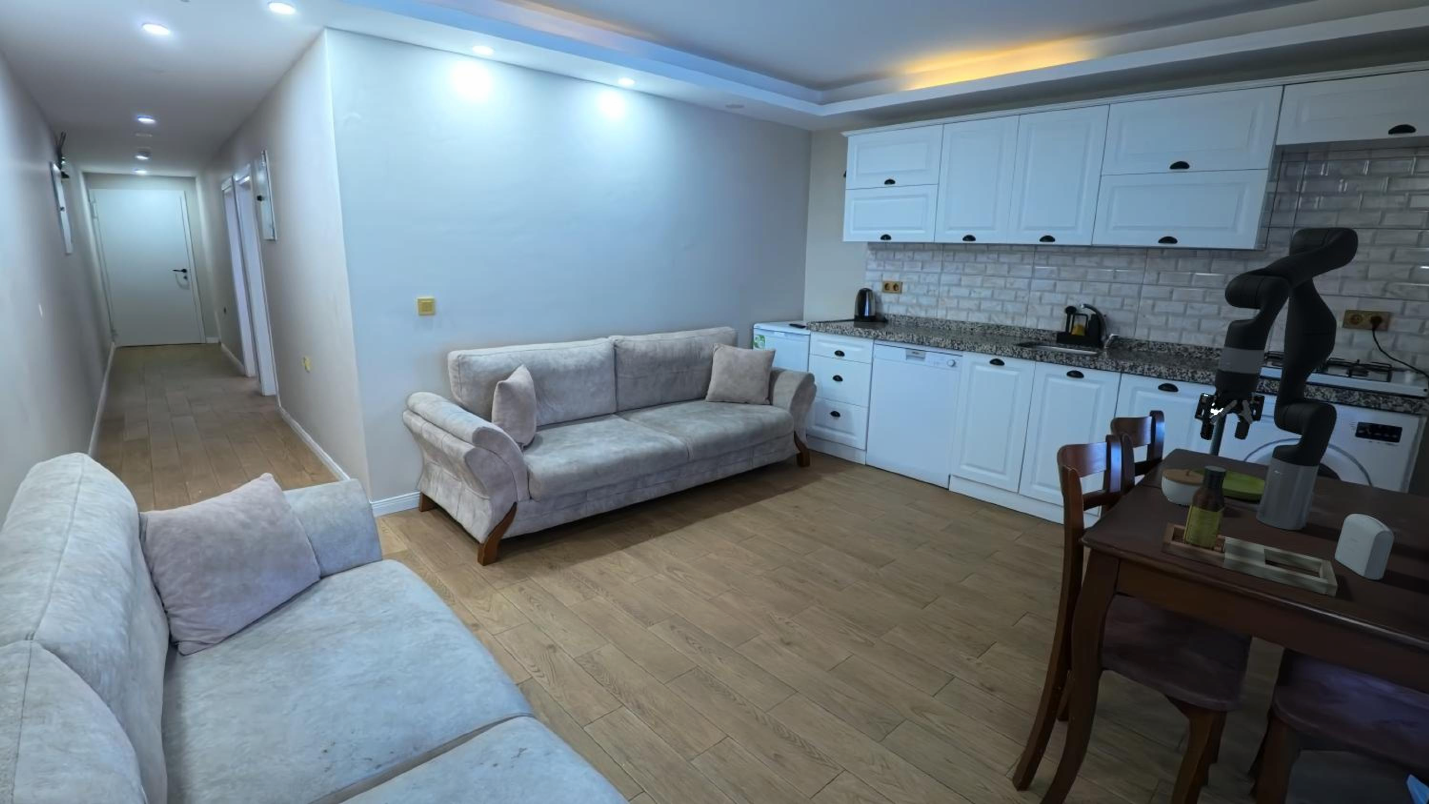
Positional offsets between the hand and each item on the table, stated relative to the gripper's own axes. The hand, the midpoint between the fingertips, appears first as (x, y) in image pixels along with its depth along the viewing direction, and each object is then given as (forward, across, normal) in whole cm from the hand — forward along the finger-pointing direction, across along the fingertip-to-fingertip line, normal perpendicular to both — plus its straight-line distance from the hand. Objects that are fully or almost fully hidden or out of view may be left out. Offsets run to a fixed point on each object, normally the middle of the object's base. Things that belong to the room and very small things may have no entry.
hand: (1222, 439), depth 147 cm
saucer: (+28, -45, -36) cm, 64 cm away
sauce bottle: (+27, 0, 0) cm, 27 cm away
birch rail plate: (+27, -6, +6) cm, 29 cm away
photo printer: (+28, -30, +11) cm, 42 cm away
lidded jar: (+28, -21, -28) cm, 45 cm away
